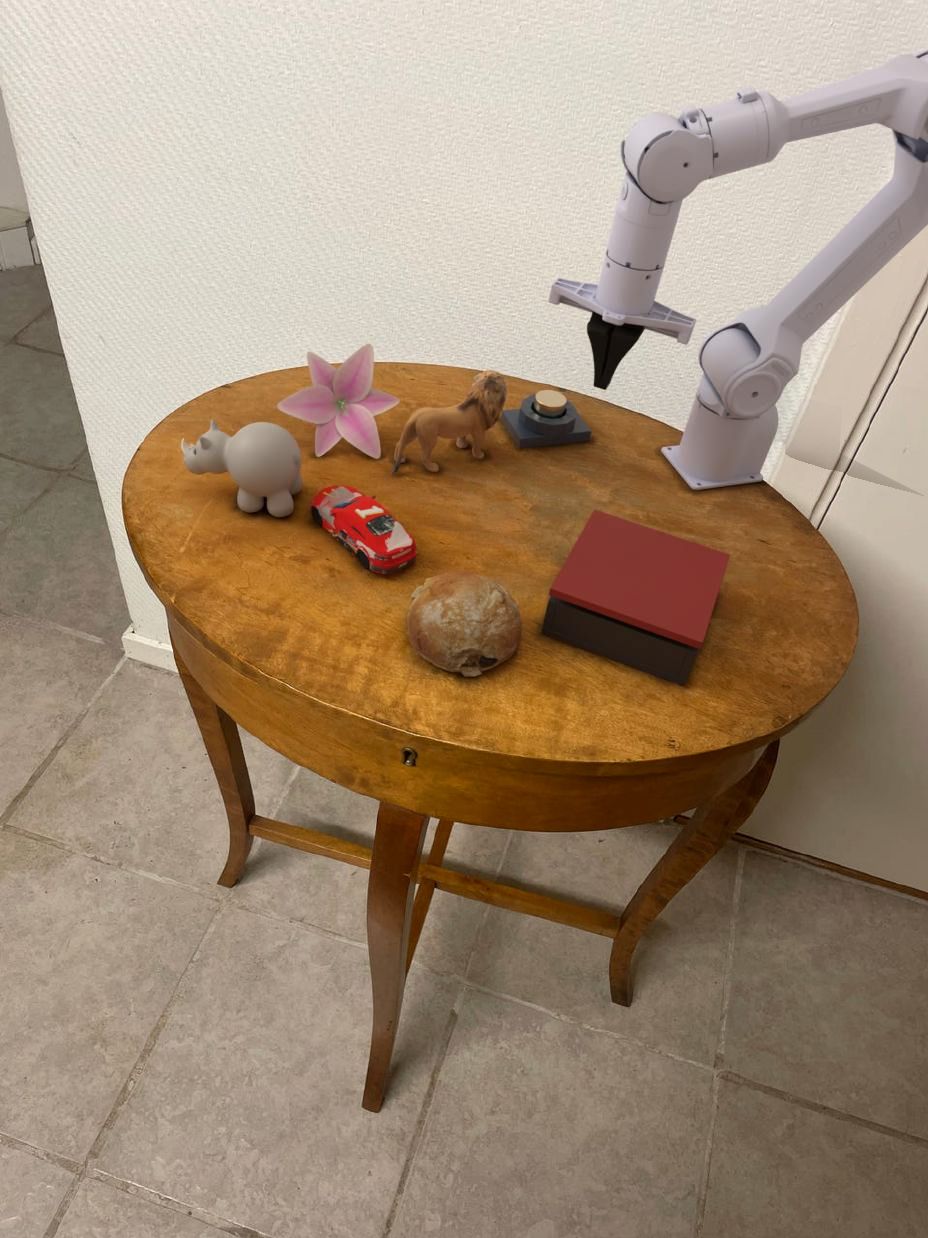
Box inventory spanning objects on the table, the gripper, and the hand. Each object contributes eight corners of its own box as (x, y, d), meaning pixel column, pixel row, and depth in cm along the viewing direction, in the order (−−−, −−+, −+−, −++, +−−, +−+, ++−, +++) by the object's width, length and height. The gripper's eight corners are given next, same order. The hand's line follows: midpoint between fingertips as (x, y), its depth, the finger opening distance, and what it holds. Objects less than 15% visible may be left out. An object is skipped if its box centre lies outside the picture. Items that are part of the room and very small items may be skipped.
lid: (700, 649, 77) (702, 642, 76) (548, 595, 80) (550, 587, 79) (727, 561, 87) (730, 554, 87) (592, 515, 90) (594, 509, 89)
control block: (567, 412, 111) (572, 390, 109) (590, 442, 107) (595, 420, 105) (499, 419, 109) (502, 396, 107) (519, 450, 104) (523, 427, 102)
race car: (301, 511, 92) (300, 479, 90) (346, 494, 95) (347, 462, 92) (377, 586, 86) (379, 553, 83) (423, 565, 89) (426, 533, 86)
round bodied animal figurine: (200, 464, 96) (192, 393, 90) (311, 485, 96) (310, 415, 90) (173, 504, 91) (162, 432, 85) (290, 527, 90) (287, 456, 84)
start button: (556, 401, 108) (559, 388, 107) (568, 418, 105) (571, 405, 104) (528, 404, 107) (530, 391, 105) (540, 421, 104) (542, 407, 103)
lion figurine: (479, 426, 107) (489, 357, 101) (509, 449, 104) (521, 379, 98) (377, 465, 99) (381, 392, 93) (407, 490, 97) (413, 417, 90)
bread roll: (422, 703, 81) (447, 675, 74) (382, 599, 83) (402, 563, 76) (518, 671, 85) (551, 642, 78) (477, 573, 87) (505, 537, 80)
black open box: (684, 686, 81) (697, 653, 78) (540, 633, 84) (548, 599, 81) (713, 594, 90) (727, 561, 87) (583, 549, 93) (592, 515, 90)
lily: (263, 446, 101) (272, 403, 93) (305, 365, 106) (318, 316, 97) (362, 493, 103) (380, 456, 94) (400, 411, 108) (420, 368, 99)
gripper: (550, 250, 85) (525, 379, 95) (700, 294, 83) (658, 423, 92) (573, 226, 90) (546, 351, 100) (715, 267, 88) (674, 392, 97)
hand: (601, 384), depth 96 cm, fingers closed
